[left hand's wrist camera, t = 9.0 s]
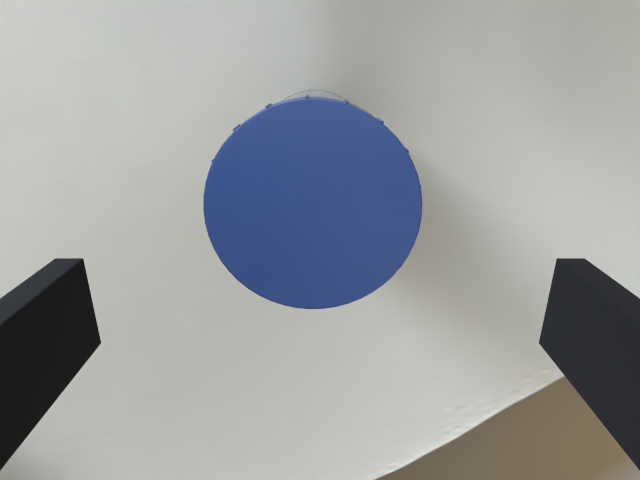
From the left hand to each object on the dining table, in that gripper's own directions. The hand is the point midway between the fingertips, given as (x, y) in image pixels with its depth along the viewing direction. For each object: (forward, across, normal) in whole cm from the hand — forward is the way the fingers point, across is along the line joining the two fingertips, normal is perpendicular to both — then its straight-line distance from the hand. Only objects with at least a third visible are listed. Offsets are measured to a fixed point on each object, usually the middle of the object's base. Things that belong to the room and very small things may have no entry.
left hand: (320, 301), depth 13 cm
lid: (+7, 0, 0) cm, 7 cm away
